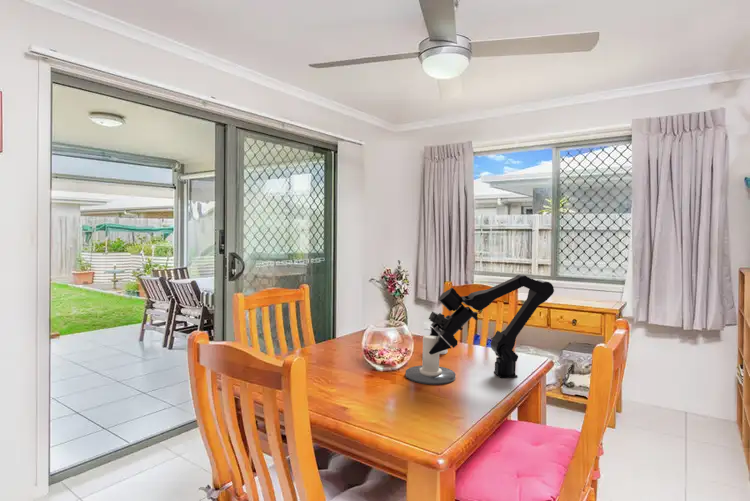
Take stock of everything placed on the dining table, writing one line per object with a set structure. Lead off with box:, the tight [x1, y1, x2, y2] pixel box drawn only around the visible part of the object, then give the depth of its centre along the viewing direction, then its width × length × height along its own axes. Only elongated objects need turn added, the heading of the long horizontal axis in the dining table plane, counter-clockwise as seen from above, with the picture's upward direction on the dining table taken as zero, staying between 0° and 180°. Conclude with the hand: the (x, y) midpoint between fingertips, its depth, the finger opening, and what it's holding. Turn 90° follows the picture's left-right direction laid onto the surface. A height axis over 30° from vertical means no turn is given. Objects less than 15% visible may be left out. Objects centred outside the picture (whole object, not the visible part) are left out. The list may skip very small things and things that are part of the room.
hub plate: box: [405, 365, 457, 386], centre depth 162 cm, size 18×18×1 cm
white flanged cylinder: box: [420, 335, 442, 377], centre depth 161 cm, size 8×8×13 cm
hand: (427, 350), depth 161 cm, fingers open, 9 cm apart
